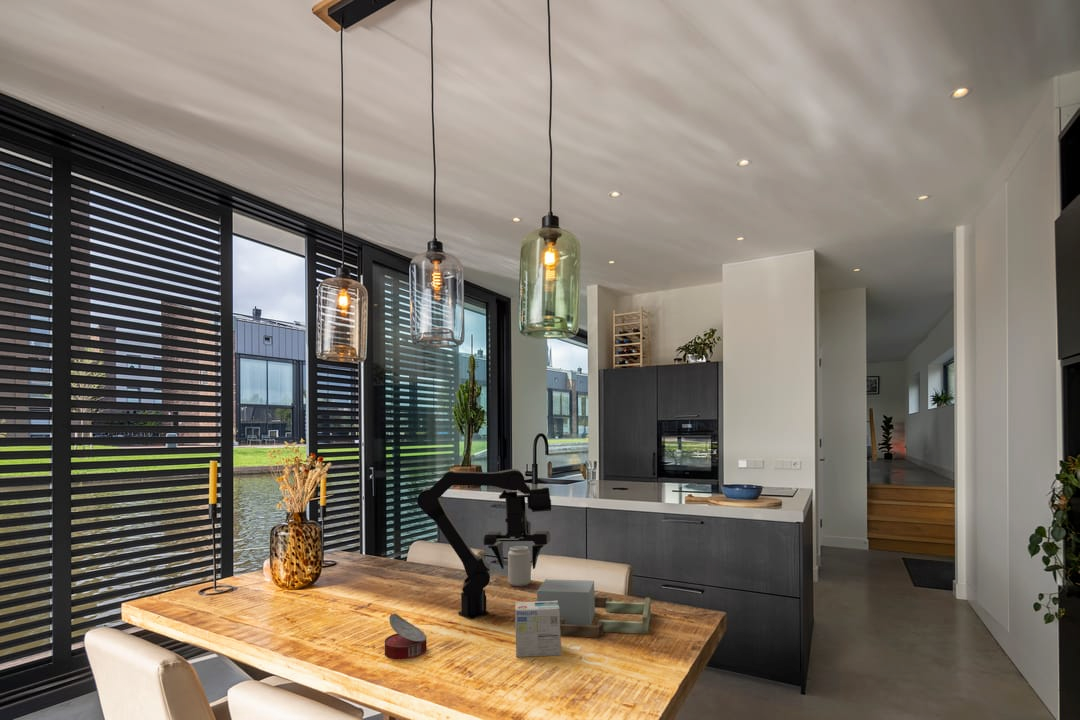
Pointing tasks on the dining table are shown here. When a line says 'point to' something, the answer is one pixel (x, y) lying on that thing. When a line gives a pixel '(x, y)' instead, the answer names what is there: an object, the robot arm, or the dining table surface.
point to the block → (570, 599)
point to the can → (519, 566)
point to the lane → (611, 624)
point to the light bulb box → (537, 629)
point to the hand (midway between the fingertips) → (518, 568)
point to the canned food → (404, 640)
